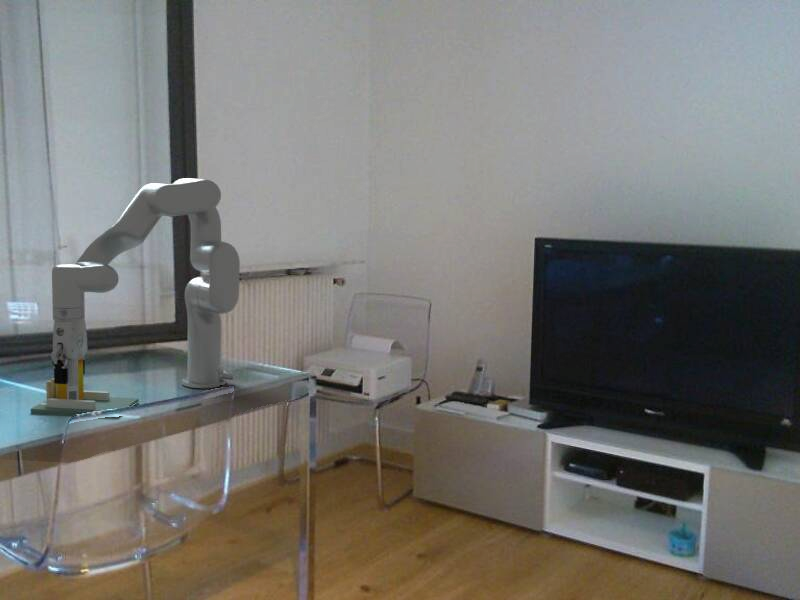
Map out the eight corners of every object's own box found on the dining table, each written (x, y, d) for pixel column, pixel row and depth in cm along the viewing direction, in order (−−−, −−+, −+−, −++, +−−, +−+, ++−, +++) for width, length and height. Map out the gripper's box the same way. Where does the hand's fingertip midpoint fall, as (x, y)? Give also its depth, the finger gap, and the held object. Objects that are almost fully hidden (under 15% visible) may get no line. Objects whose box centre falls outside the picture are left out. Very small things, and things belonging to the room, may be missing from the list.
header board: (138, 402, 209) (138, 376, 208) (117, 418, 195) (117, 390, 194) (57, 398, 210) (56, 372, 209) (30, 413, 196) (30, 385, 195)
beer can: (79, 398, 207) (78, 342, 205) (86, 403, 202) (86, 346, 200) (55, 401, 203) (53, 344, 201) (62, 406, 198) (61, 348, 196)
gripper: (67, 319, 190) (68, 388, 193) (97, 308, 207) (98, 371, 210) (37, 318, 190) (38, 386, 193) (69, 307, 208) (70, 370, 210)
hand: (69, 378), depth 201 cm, fingers open, 9 cm apart
